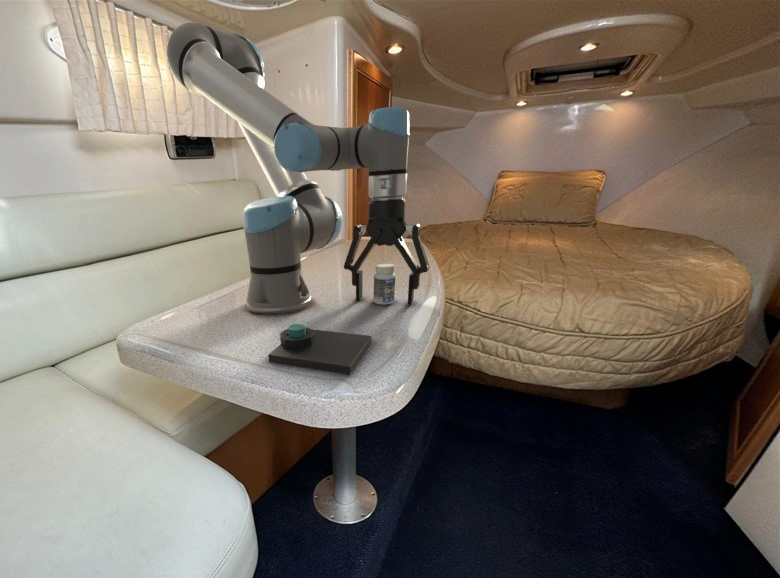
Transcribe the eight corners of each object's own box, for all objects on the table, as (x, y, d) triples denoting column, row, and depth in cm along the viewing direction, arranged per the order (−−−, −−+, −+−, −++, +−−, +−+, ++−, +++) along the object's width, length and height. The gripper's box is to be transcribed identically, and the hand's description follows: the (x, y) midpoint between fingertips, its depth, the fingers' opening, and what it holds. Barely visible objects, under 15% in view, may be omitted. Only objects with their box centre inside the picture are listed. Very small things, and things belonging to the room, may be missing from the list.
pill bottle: (386, 306, 81) (388, 268, 77) (369, 302, 84) (369, 266, 80) (398, 300, 84) (400, 264, 80) (381, 297, 87) (382, 262, 83)
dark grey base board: (266, 361, 60) (264, 345, 59) (298, 334, 70) (296, 319, 68) (350, 375, 54) (349, 357, 53) (371, 343, 64) (372, 327, 63)
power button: (285, 337, 62) (284, 329, 61) (293, 331, 64) (292, 322, 64) (301, 339, 61) (300, 331, 60) (308, 332, 63) (308, 324, 62)
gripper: (326, 201, 76) (330, 302, 85) (446, 197, 67) (435, 310, 76) (339, 199, 82) (341, 293, 91) (449, 194, 73) (439, 299, 82)
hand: (384, 300), depth 84 cm, fingers open, 11 cm apart
